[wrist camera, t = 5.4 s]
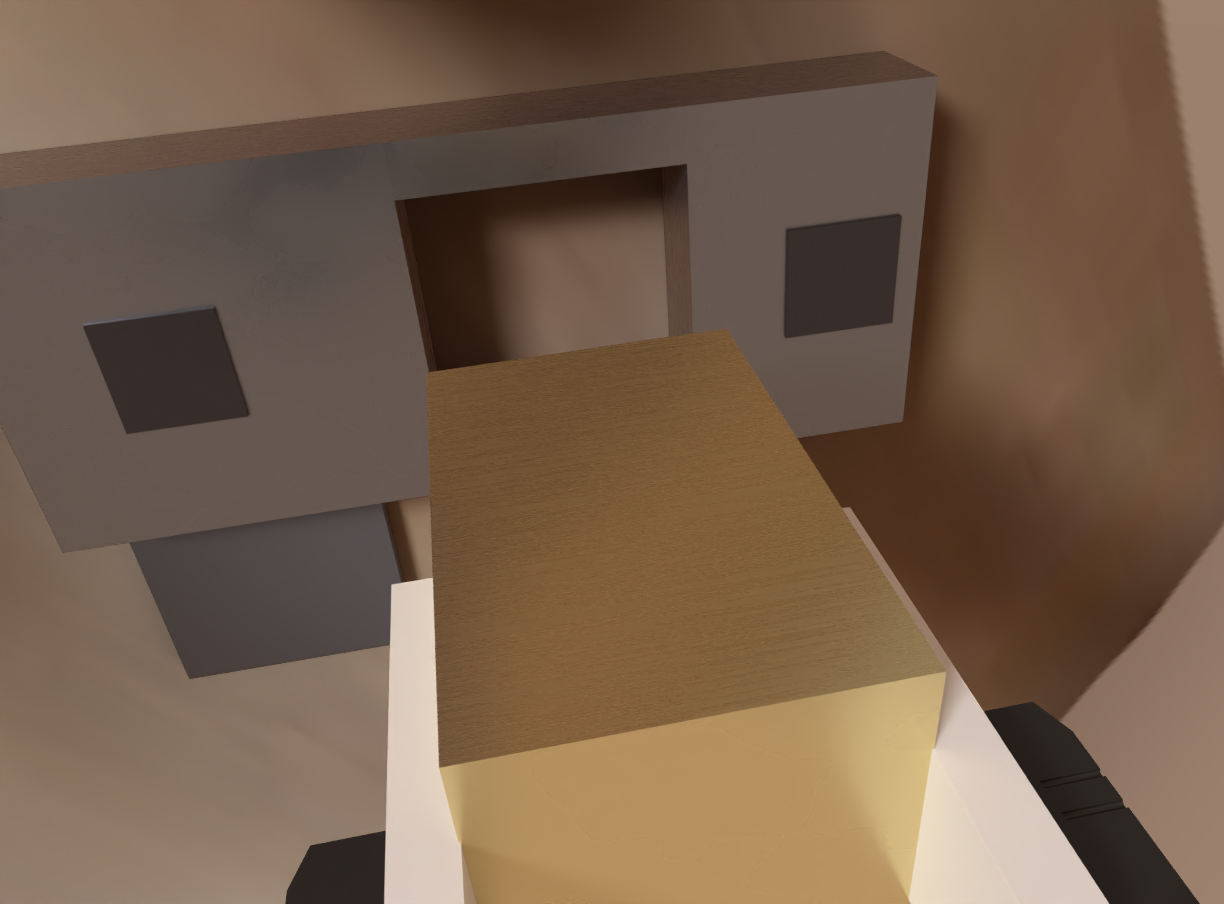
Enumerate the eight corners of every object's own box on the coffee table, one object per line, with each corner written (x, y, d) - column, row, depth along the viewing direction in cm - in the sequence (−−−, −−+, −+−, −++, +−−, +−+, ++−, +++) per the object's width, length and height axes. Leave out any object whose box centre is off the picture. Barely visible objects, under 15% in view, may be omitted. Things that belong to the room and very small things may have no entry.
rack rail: (96, 486, 27) (61, 555, 24) (-48, 159, 22) (-111, 202, 19) (861, 371, 29) (904, 423, 26) (883, 51, 24) (939, 76, 22)
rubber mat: (192, 665, 31) (189, 679, 30) (114, 483, 27) (109, 495, 26) (415, 627, 31) (415, 640, 31) (370, 444, 28) (369, 455, 27)
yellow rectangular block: (473, 604, 18) (509, 1039, 12) (426, 373, 16) (439, 767, 9) (729, 560, 19) (902, 953, 12) (726, 328, 16) (946, 671, 10)
